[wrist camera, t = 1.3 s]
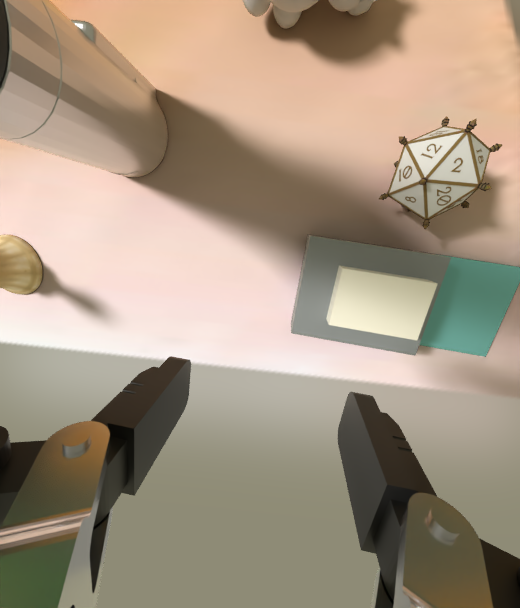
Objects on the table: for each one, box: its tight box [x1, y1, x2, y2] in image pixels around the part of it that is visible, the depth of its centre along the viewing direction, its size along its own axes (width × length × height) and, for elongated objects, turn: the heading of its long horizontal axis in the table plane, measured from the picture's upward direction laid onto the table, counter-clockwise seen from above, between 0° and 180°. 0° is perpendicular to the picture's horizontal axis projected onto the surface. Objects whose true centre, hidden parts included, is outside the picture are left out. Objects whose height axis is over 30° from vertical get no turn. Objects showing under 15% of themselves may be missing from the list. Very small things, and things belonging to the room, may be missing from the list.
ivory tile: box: [326, 265, 437, 340], centre depth 27 cm, size 6×9×2 cm, turn 82°
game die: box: [379, 116, 502, 229], centre depth 24 cm, size 9×8×10 cm
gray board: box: [291, 235, 451, 355], centre depth 30 cm, size 11×14×4 cm
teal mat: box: [419, 254, 520, 357], centre depth 31 cm, size 11×10×1 cm
